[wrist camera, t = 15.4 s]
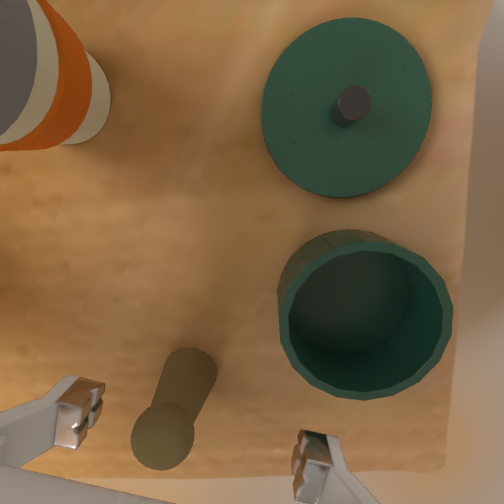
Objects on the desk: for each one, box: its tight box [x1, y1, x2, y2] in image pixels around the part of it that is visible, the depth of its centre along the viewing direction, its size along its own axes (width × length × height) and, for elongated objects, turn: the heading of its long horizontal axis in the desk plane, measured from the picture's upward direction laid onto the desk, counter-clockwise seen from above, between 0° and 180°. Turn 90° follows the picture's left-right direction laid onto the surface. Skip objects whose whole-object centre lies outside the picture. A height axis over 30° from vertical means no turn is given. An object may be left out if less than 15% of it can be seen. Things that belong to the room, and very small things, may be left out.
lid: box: [261, 18, 432, 198], centre depth 27 cm, size 15×15×5 cm
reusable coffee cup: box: [0, 0, 111, 151], centre depth 23 cm, size 13×13×15 cm
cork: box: [131, 348, 216, 471], centre depth 31 cm, size 6×6×11 cm
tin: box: [277, 229, 453, 400], centre depth 30 cm, size 14×14×7 cm
